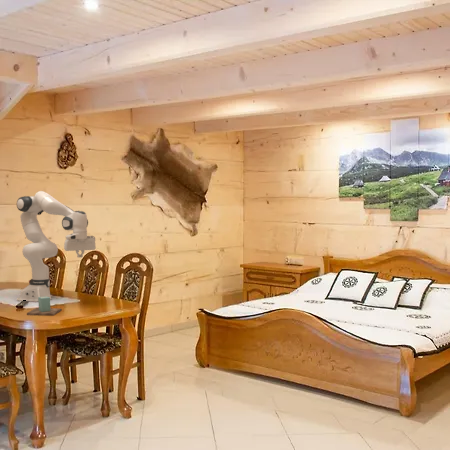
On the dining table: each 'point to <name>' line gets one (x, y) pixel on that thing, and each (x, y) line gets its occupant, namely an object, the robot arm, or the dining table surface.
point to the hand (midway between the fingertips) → (80, 257)
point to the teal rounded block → (44, 303)
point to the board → (50, 313)
